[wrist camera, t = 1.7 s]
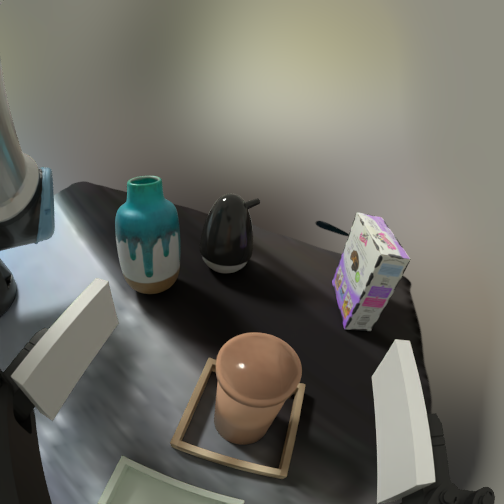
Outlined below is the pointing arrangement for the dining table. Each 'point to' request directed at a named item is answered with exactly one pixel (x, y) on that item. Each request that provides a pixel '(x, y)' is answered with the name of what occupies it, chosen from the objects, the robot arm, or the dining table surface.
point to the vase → (148, 237)
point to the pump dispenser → (228, 234)
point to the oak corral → (229, 461)
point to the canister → (253, 385)
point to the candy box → (368, 272)
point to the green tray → (154, 488)
